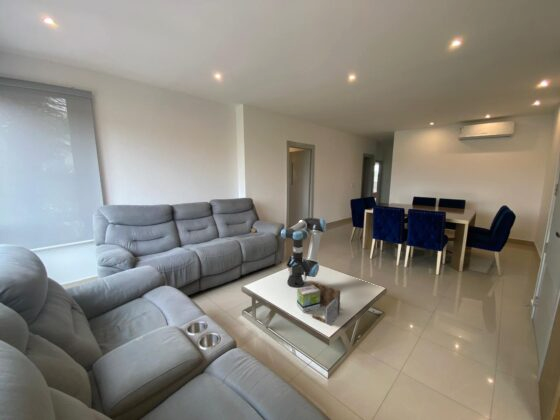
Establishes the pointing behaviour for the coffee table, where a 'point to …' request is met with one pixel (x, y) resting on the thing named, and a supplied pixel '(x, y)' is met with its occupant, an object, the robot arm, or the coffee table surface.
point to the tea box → (308, 298)
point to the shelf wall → (325, 297)
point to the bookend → (332, 311)
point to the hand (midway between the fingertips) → (297, 277)
